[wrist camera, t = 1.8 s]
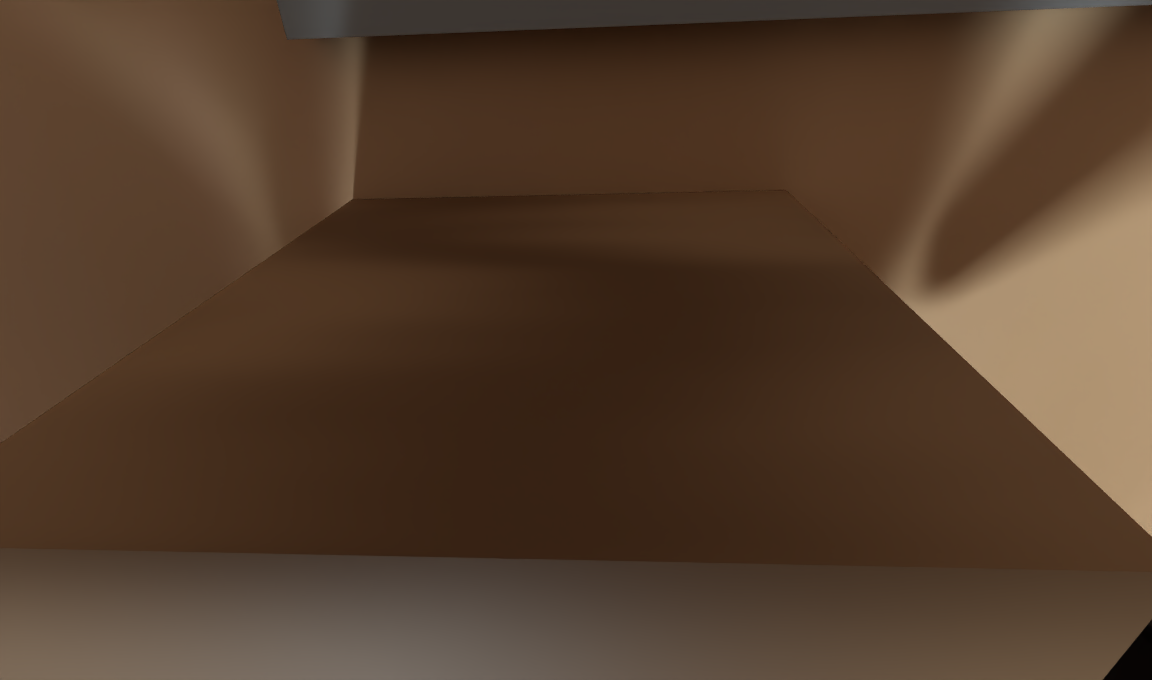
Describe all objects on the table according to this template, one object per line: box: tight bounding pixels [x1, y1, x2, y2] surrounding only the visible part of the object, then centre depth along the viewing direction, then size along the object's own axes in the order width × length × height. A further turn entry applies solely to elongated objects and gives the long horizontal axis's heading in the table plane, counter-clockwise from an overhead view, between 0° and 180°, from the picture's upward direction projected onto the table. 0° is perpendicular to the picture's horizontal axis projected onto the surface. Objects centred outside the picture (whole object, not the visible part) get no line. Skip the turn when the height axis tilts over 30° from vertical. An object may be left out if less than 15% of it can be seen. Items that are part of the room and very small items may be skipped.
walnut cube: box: [0, 190, 1152, 680], centre depth 7 cm, size 6×6×6 cm
